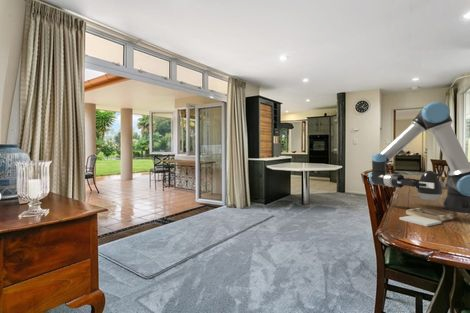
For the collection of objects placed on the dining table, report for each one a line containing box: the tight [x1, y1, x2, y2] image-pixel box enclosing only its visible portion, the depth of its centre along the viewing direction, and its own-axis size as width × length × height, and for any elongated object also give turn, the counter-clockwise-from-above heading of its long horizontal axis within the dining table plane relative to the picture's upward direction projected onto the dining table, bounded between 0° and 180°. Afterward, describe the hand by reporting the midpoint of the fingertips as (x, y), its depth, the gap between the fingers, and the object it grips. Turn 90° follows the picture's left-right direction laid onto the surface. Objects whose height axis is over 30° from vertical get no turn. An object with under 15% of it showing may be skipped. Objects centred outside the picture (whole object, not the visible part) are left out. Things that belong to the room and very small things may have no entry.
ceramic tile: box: [399, 215, 442, 227], centre depth 119 cm, size 12×12×1 cm
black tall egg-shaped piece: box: [416, 170, 443, 201], centre depth 129 cm, size 10×10×15 cm
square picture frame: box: [405, 207, 454, 222], centre depth 129 cm, size 15×15×2 cm
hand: (439, 185), depth 125 cm, fingers closed on black tall egg-shaped piece, 9 cm apart
